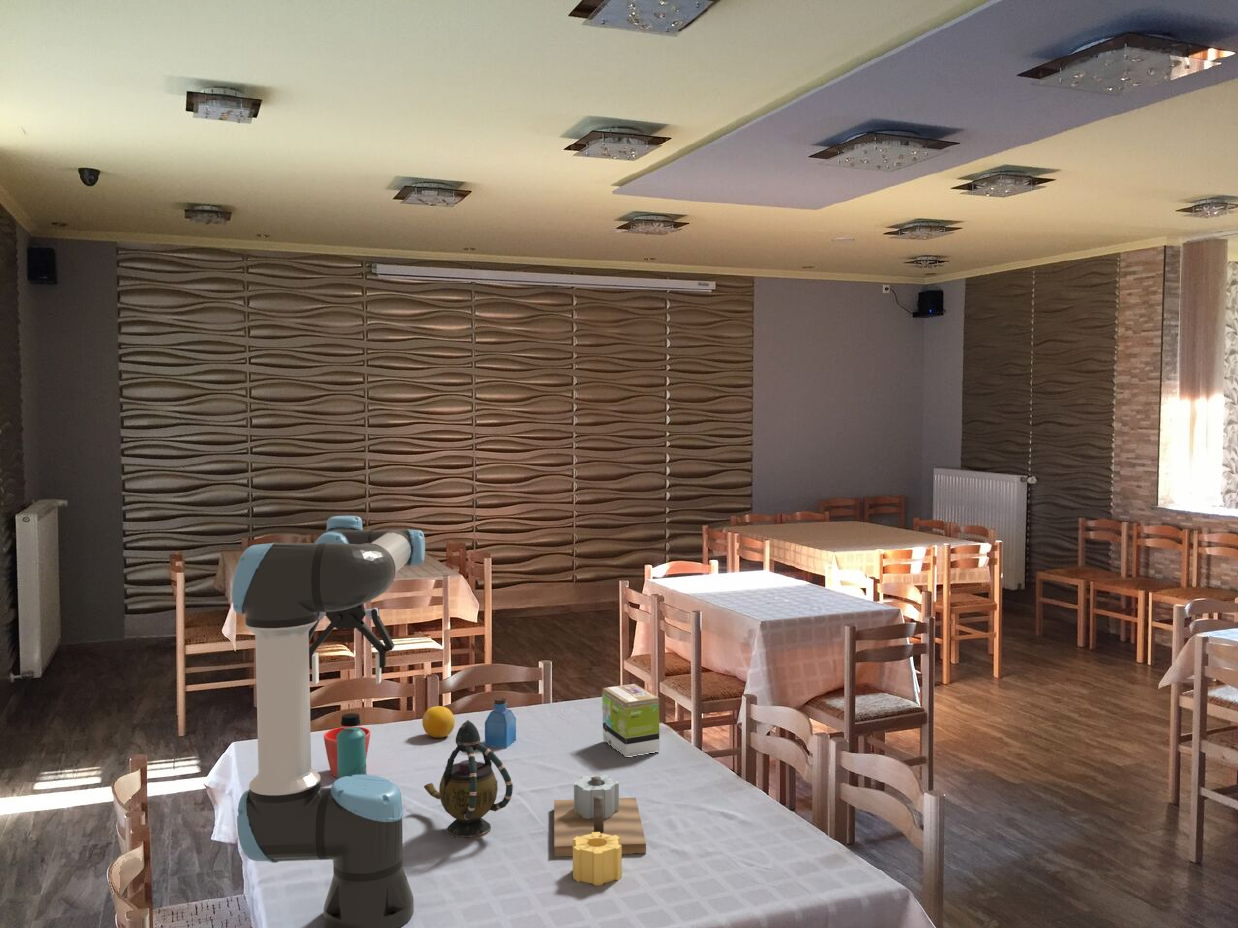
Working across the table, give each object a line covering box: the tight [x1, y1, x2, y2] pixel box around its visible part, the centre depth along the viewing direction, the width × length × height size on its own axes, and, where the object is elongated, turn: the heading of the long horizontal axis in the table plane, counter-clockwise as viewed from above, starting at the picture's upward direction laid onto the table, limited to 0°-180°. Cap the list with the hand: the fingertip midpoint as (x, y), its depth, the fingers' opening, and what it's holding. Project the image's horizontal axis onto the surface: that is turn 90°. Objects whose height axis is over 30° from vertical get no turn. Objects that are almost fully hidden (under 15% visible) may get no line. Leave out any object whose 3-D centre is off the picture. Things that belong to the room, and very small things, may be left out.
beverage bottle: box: [337, 712, 368, 780], centre depth 224 cm, size 6×7×20 cm
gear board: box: [553, 775, 647, 857], centre depth 208 cm, size 24×18×9 cm
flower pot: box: [323, 726, 371, 778], centre depth 243 cm, size 11×11×10 cm
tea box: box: [601, 683, 661, 758], centre depth 261 cm, size 15×10×15 cm, turn 25°
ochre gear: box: [572, 832, 623, 886], centre depth 189 cm, size 10×9×6 cm
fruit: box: [422, 705, 455, 739], centre depth 271 cm, size 9×8×8 cm
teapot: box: [423, 719, 514, 840], centre depth 211 cm, size 12×25×23 cm, turn 43°
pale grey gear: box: [573, 774, 620, 819], centre depth 214 cm, size 10×9×6 cm
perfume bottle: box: [484, 696, 517, 749], centre depth 265 cm, size 6×6×12 cm
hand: (347, 683), depth 220 cm, fingers open, 13 cm apart
